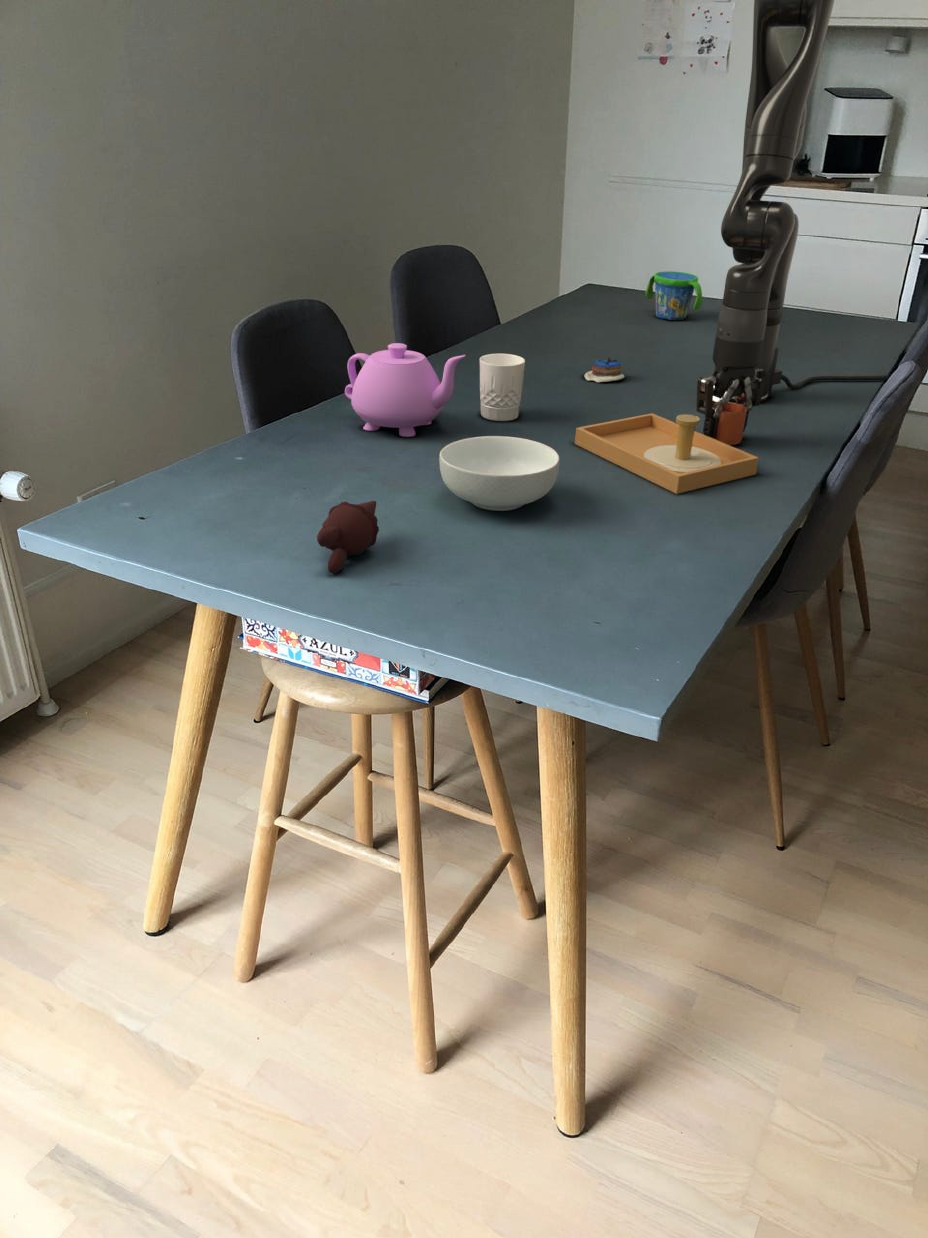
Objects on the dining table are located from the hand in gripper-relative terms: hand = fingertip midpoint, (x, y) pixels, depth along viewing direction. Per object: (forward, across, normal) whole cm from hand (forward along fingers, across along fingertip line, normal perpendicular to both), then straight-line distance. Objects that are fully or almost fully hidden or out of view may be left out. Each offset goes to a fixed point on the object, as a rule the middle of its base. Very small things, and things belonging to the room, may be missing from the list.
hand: (724, 434), depth 169 cm
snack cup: (+2, +55, +73) cm, 91 cm away
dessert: (+2, +6, +39) cm, 39 cm away
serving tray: (+1, -15, -2) cm, 15 cm away
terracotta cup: (+1, 0, 0) cm, 1 cm away
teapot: (+1, -44, +32) cm, 54 cm away
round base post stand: (0, -15, -6) cm, 16 cm away
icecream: (+1, -74, -8) cm, 75 cm away
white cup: (+1, -26, +29) cm, 39 cm away
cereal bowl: (+1, -48, -3) cm, 48 cm away
